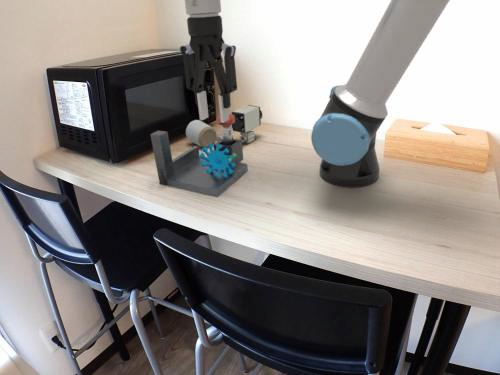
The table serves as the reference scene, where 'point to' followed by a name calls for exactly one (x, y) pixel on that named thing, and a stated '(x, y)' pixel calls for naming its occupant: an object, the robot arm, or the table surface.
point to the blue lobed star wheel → (217, 160)
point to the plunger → (227, 129)
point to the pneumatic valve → (247, 122)
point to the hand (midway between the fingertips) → (214, 119)
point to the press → (194, 167)
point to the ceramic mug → (201, 133)
